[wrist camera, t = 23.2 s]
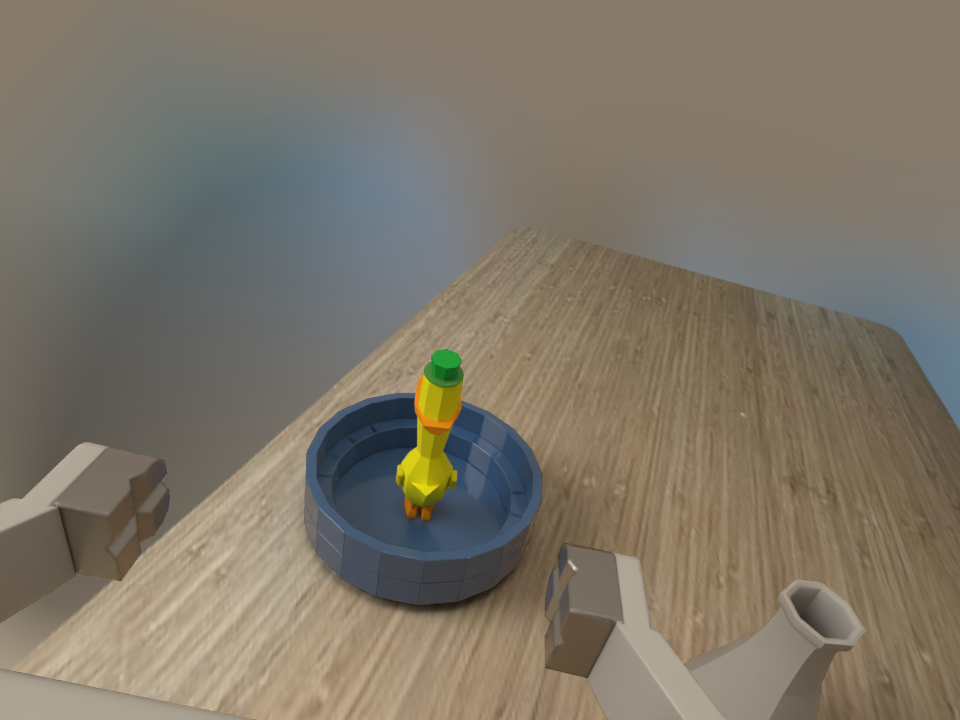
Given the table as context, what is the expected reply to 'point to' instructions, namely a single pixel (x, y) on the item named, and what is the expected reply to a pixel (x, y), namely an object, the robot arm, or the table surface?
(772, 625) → the flask
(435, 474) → the toy figure
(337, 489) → the bowl
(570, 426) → the table surface
